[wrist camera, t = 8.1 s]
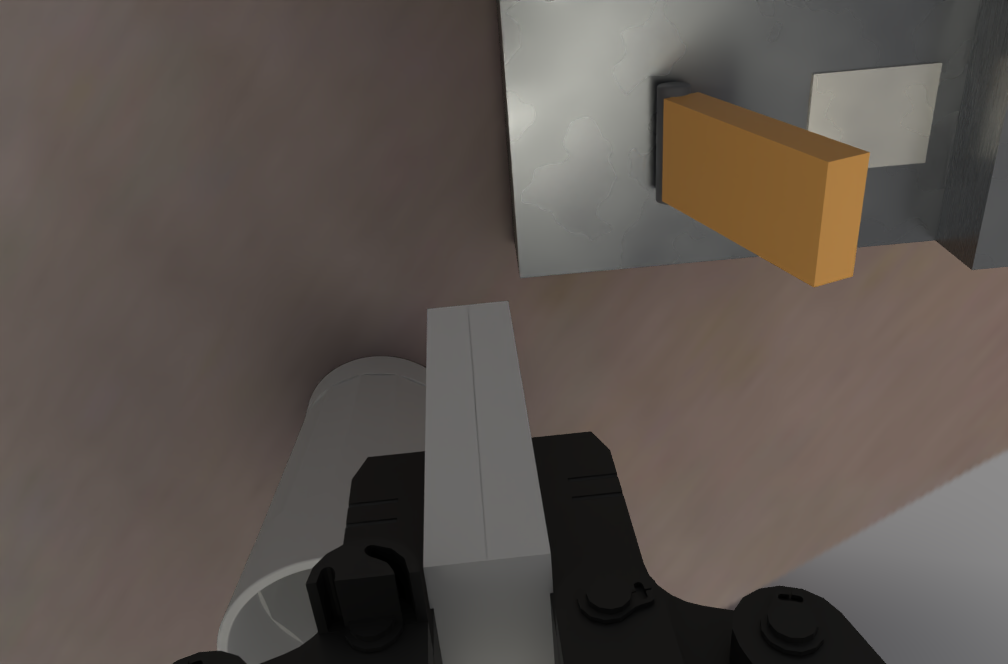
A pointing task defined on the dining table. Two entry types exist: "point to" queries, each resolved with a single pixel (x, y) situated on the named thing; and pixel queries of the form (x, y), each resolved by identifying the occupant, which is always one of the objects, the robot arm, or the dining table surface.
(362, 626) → the robot arm
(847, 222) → the paddle
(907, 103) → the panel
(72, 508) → the dining table surface
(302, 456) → the cup
